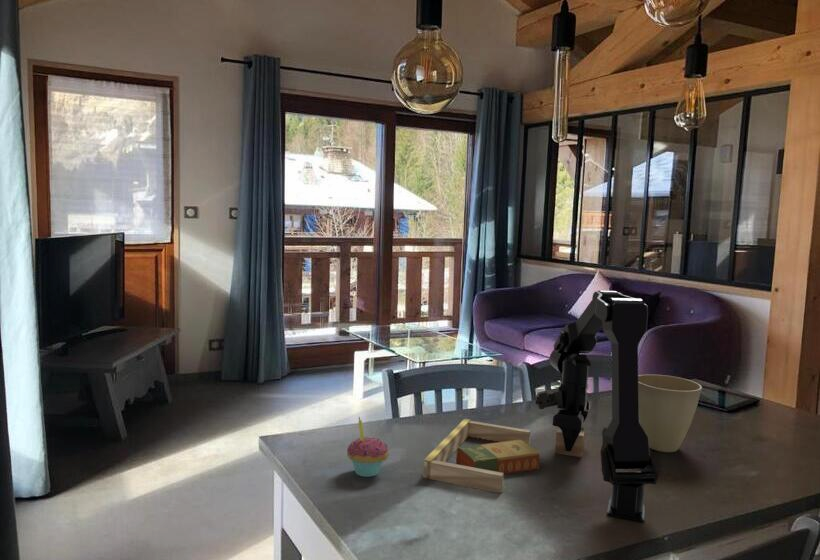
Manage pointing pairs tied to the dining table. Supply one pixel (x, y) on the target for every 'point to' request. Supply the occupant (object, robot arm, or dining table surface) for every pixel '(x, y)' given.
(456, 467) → the dock bay
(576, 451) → the cardboard box
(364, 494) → the dining table surface
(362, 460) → the cupcake
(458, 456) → the carton
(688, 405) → the plant pot
